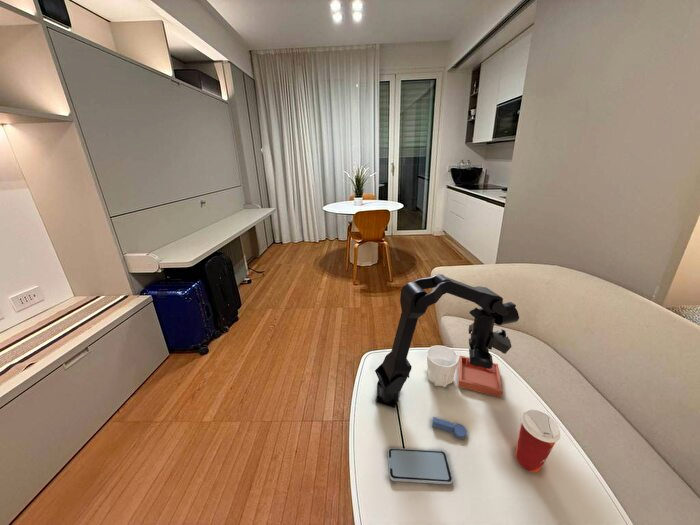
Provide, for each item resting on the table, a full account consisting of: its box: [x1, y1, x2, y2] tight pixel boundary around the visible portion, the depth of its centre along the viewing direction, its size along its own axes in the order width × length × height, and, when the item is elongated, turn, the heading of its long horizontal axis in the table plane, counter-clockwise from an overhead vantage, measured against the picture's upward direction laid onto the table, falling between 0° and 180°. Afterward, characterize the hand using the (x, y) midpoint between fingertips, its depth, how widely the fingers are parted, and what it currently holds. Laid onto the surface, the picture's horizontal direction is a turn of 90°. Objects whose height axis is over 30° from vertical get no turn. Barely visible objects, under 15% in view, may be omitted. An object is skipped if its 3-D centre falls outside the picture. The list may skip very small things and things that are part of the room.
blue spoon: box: [431, 416, 468, 440], centre depth 75 cm, size 9×4×2 cm, turn 68°
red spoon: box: [466, 358, 496, 374], centre depth 90 cm, size 9×4×2 cm, turn 68°
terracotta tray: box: [457, 355, 503, 398], centre depth 92 cm, size 13×13×3 cm
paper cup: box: [514, 409, 561, 473], centre depth 65 cm, size 8×8×14 cm
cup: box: [426, 344, 459, 388], centre depth 91 cm, size 10×10×10 cm
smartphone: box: [387, 447, 453, 485], centre depth 67 cm, size 7×1×15 cm
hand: (475, 364), depth 90 cm, fingers closed on red spoon, 1 cm apart
